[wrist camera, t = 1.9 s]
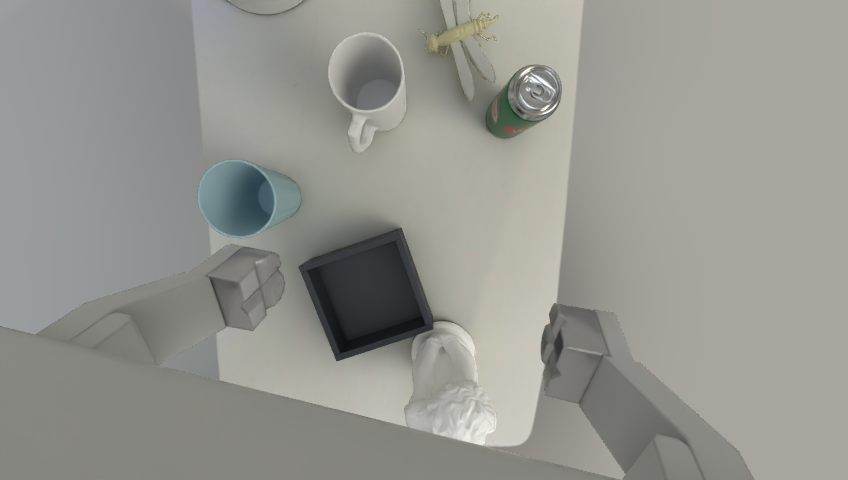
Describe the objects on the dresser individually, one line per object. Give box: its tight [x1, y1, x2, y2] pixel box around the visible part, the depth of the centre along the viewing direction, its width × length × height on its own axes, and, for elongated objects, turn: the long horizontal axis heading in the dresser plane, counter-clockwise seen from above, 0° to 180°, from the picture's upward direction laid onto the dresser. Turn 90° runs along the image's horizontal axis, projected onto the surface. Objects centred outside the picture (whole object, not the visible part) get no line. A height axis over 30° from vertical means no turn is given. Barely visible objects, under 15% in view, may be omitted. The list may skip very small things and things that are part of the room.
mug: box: [328, 32, 407, 153], centre depth 37 cm, size 10×7×12 cm, turn 162°
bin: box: [299, 228, 434, 361], centre depth 43 cm, size 13×13×4 cm
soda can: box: [486, 65, 562, 138], centre depth 37 cm, size 5×5×12 cm
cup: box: [197, 159, 301, 238], centre depth 39 cm, size 8×8×10 cm
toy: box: [419, 0, 498, 101], centre depth 39 cm, size 15×9×5 cm, turn 16°
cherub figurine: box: [404, 321, 497, 446], centre depth 36 cm, size 12×12×22 cm
